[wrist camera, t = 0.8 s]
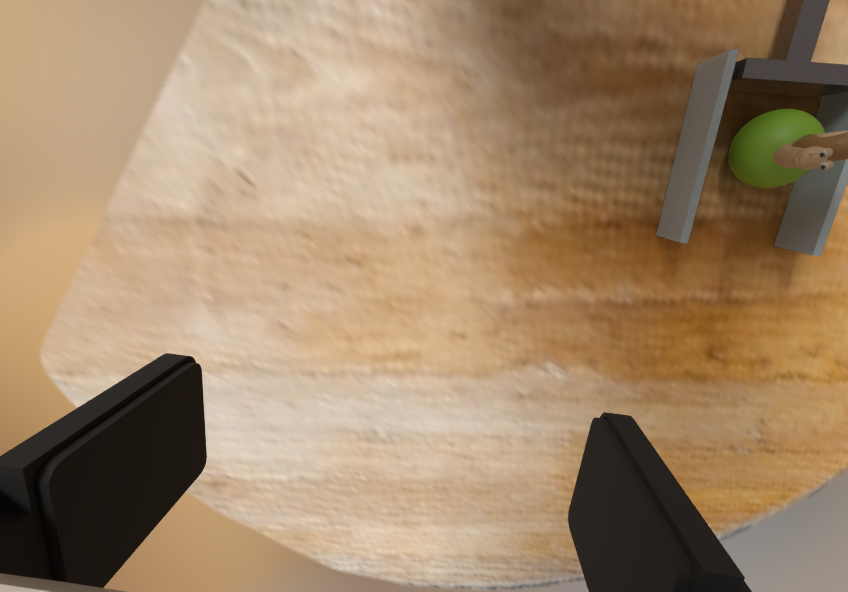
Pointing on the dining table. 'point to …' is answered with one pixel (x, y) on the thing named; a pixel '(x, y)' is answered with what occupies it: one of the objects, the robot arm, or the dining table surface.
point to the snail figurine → (783, 148)
